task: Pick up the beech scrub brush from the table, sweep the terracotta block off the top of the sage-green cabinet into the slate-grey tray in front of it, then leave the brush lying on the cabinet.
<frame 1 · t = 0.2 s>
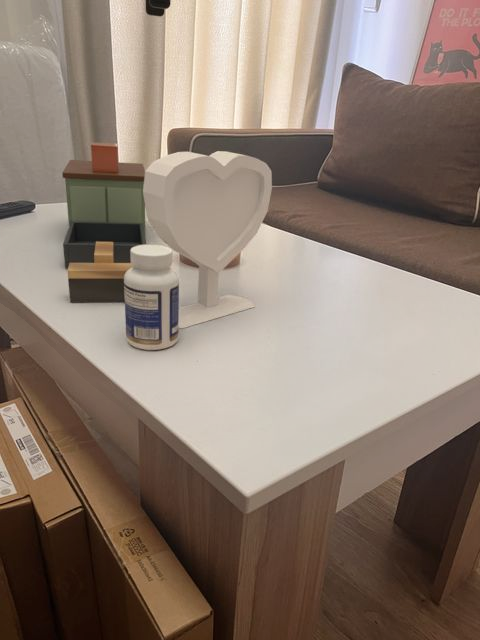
hand: (157, 12, 60), 32 cm above the table, tool pointing down, fingers open, 8 cm apart
cabinet: (109, 231, 93), on the table
heart sculpture: (207, 311, 64), on the table
pill bottle: (152, 341, 55), on the table
block: (105, 170, 85), point 11 cm above the table, touching cabinet
brush: (105, 288, 68), on the table
tray: (107, 255, 80), on the table
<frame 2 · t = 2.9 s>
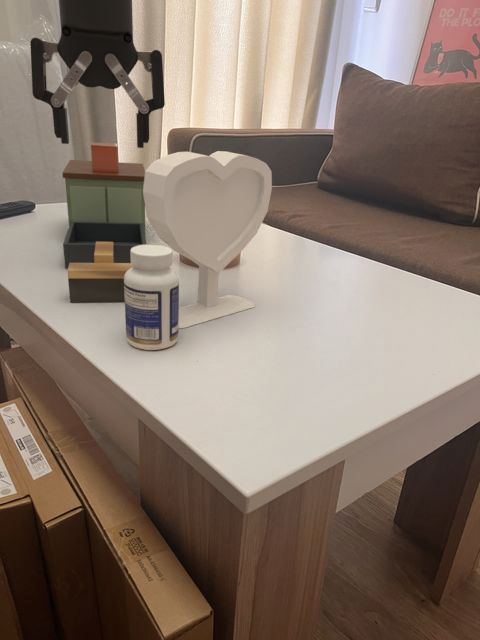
hand: (103, 145, 62), 17 cm above the table, tool pointing down, fingers open, 8 cm apart
nothing on the table moved.
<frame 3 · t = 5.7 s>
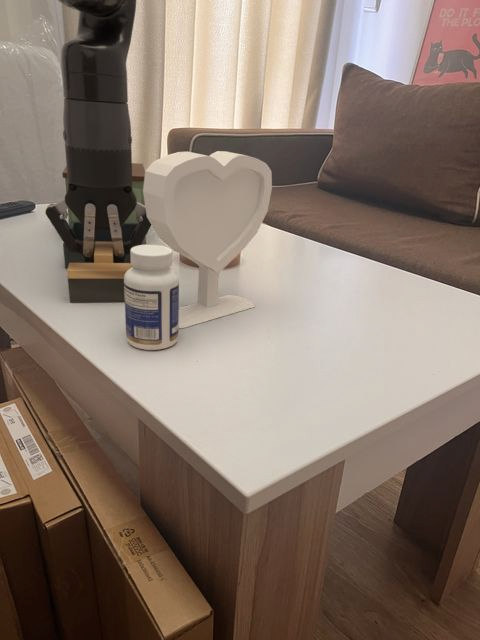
hand: (105, 282, 69), 0 cm above the table, tool pointing down, fingers closed on brush
brush: (105, 288, 68), on the table, touching gripper
everything else where it was.
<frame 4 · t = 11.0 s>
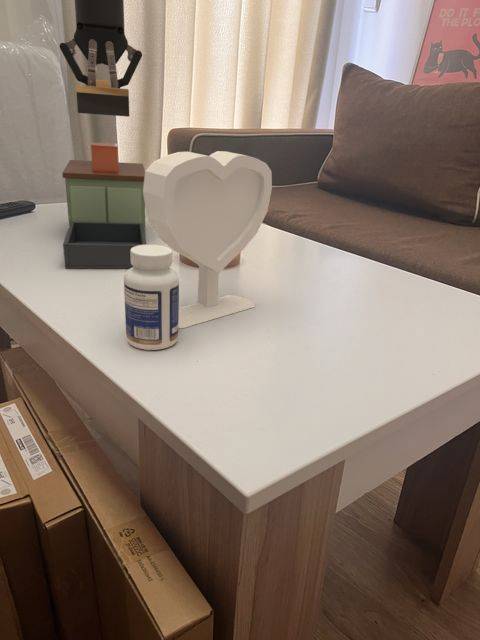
hand: (104, 111, 91), 19 cm above the table, tool pointing down, fingers closed on brush
brush: (104, 112, 89), point 19 cm above the table, touching gripper
everything else where it was.
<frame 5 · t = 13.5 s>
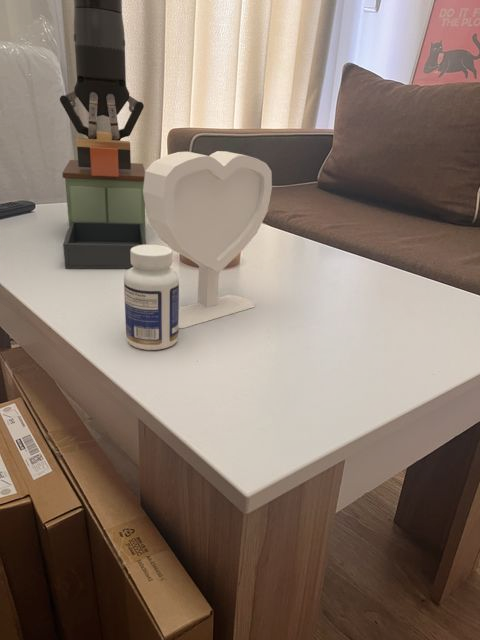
hand: (105, 161, 89), 11 cm above the table, tool pointing down, fingers closed on brush
block: (105, 174, 82), point 11 cm above the table, touching brush
brush: (105, 164, 88), point 11 cm above the table, touching block, gripper
everything else where it was.
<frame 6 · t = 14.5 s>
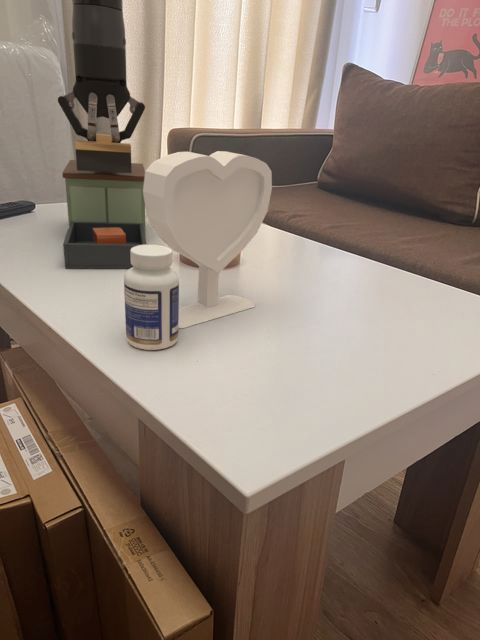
hand: (105, 165, 86), 11 cm above the table, tool pointing down, fingers closed on brush
block: (112, 248, 75), point 2 cm above the table, tilted 90°, touching tray
brush: (105, 167, 84), point 11 cm above the table, touching gripper
everything else where it was.
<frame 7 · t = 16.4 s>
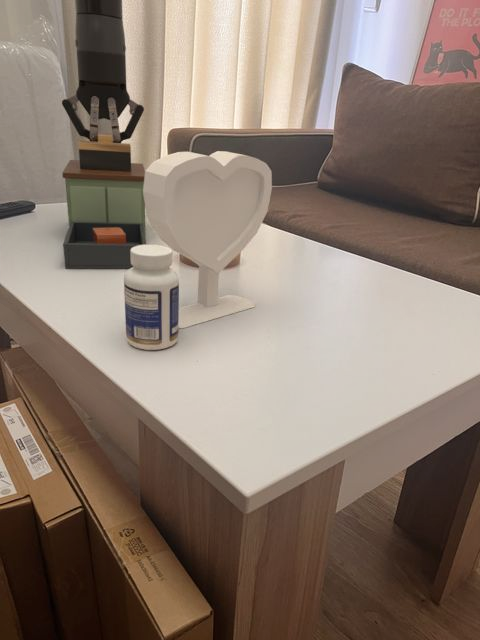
hand: (106, 163, 91), 11 cm above the table, tool pointing down, fingers closed on brush, 2 cm apart
brush: (106, 165, 90), point 11 cm above the table, touching cabinet, gripper
everything else where it was.
when the fingers open (11 cm above the table, at t = 16.4 s): brush stays where it is, resting on cabinet.
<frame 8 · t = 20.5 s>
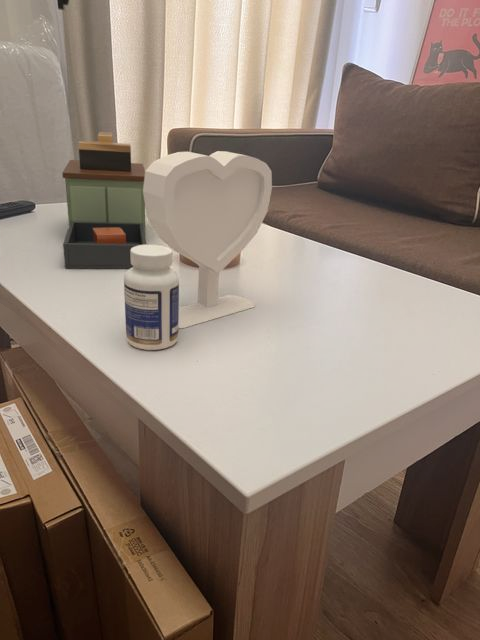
hand: (27, 5, 70), 32 cm above the table, tool pointing down, fingers open, 8 cm apart
brush: (106, 165, 90), point 11 cm above the table, touching cabinet
everything else where it was.
at the end: block inside the target area in the tray (4.9 cm from its centre), point 2.5 cm above the tray's base; brush inside the target area on the cabinet (1.8 cm from its centre), point 10.8 cm above the cabinet's base; the gripper is holding nothing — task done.
